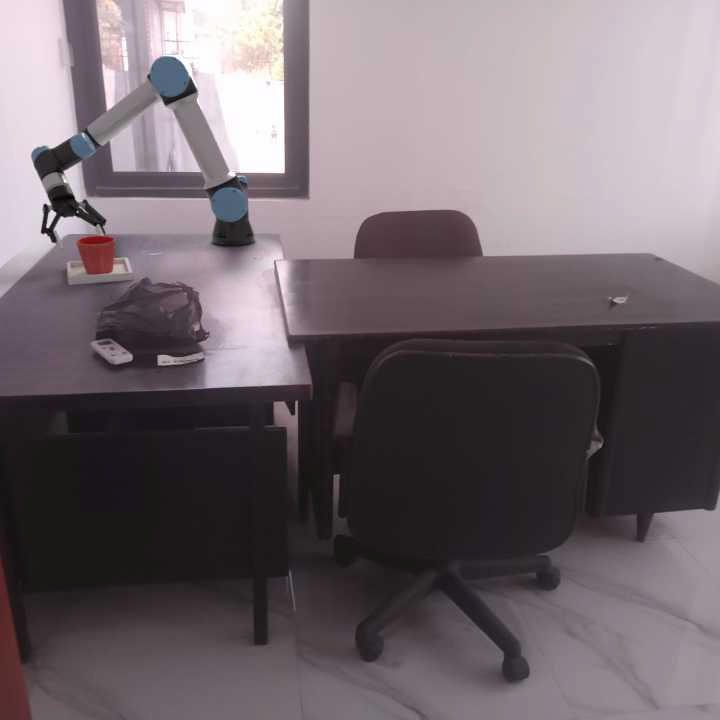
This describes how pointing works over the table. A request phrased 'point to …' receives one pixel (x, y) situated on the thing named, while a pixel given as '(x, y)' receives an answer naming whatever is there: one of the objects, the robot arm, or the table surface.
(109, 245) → the flower pot
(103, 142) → the robot arm
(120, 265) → the drip tray
